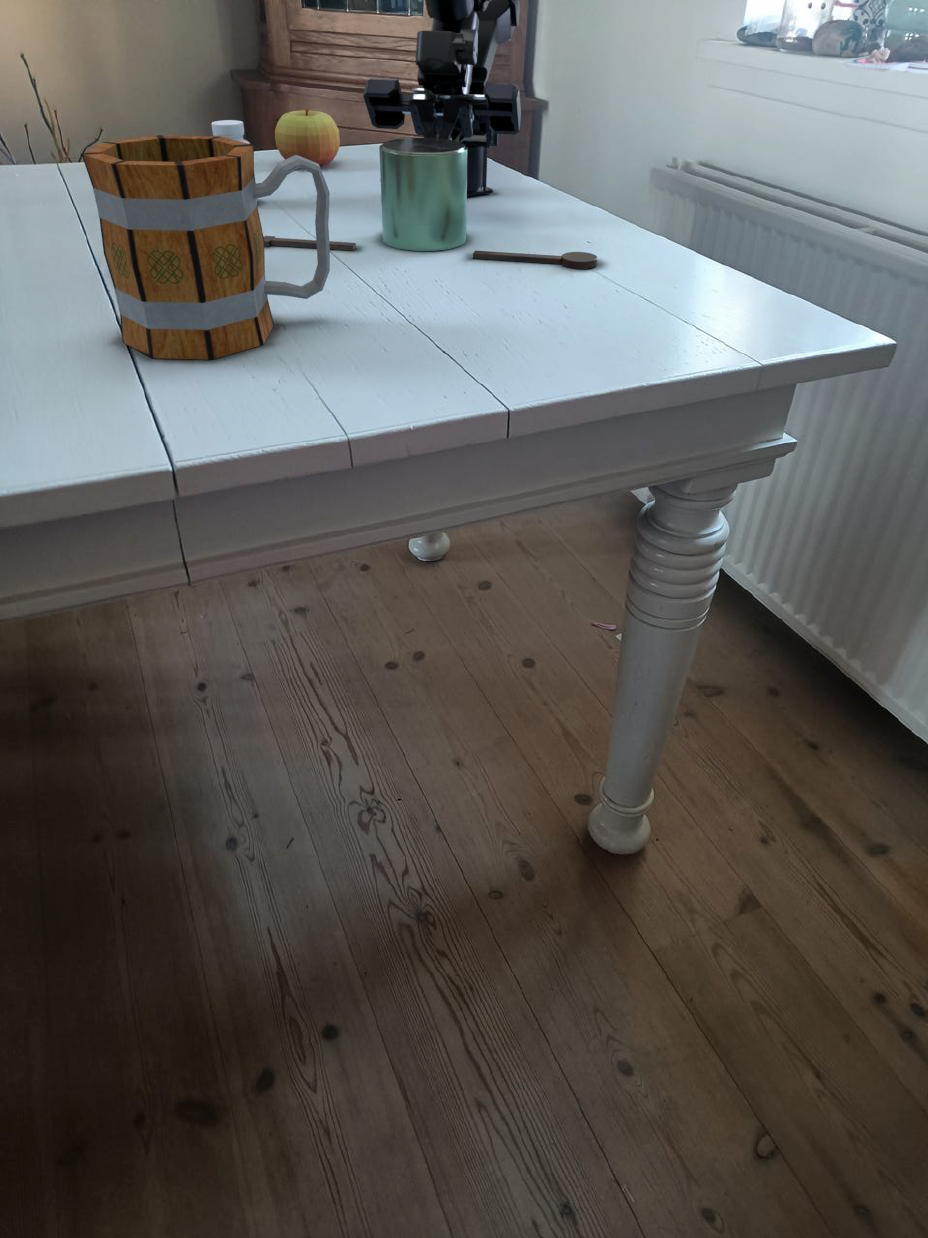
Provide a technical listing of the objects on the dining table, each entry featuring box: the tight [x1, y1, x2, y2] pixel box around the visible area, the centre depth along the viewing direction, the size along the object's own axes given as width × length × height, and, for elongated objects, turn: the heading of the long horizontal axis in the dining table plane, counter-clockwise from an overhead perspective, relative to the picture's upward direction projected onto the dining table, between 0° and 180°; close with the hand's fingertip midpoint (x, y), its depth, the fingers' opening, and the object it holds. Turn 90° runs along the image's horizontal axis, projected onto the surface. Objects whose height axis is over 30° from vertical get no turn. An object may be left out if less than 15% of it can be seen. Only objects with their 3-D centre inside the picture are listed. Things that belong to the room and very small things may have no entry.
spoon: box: [472, 249, 599, 270], centre depth 101 cm, size 14×4×1 cm, turn 80°
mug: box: [81, 134, 331, 360], centre depth 78 cm, size 20×14×15 cm
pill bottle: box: [211, 119, 259, 202], centre depth 117 cm, size 5×5×10 cm
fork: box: [264, 235, 357, 252], centre depth 104 cm, size 15×2×1 cm, turn 80°
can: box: [378, 137, 468, 252], centre depth 104 cm, size 10×10×10 cm
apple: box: [274, 108, 341, 168], centre depth 139 cm, size 10×10×8 cm
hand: (433, 169), depth 108 cm, fingers closed
